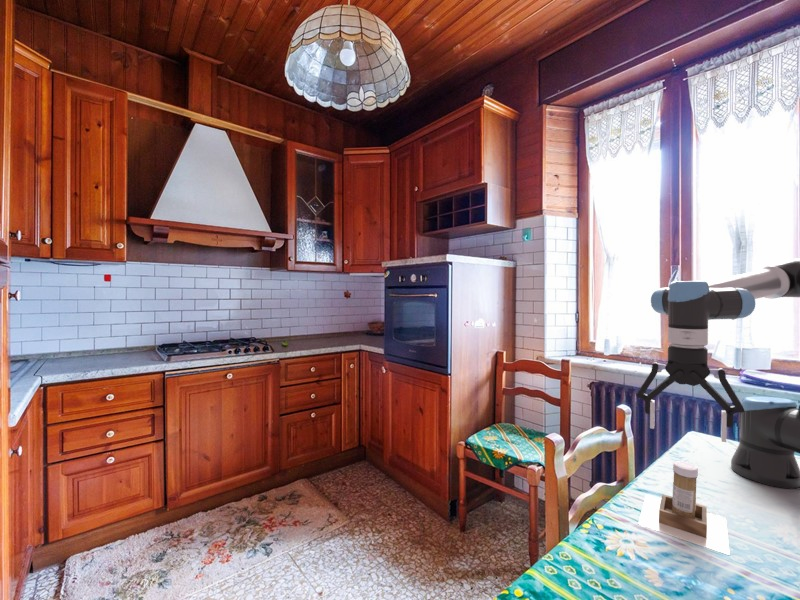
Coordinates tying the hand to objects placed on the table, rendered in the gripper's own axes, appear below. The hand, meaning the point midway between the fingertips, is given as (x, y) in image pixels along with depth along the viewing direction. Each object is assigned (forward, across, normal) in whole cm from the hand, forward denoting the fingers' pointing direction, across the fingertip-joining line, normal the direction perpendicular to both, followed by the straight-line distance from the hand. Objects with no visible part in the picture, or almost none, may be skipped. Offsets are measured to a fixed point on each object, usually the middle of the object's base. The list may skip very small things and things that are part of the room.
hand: (686, 433), depth 90 cm
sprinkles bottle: (+20, 0, -4) cm, 20 cm away
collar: (+20, 0, -4) cm, 20 cm away
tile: (+21, 0, -4) cm, 21 cm away
